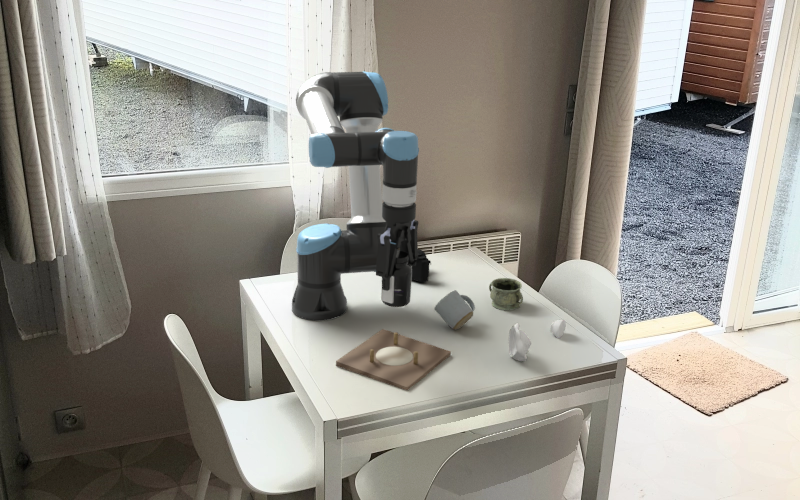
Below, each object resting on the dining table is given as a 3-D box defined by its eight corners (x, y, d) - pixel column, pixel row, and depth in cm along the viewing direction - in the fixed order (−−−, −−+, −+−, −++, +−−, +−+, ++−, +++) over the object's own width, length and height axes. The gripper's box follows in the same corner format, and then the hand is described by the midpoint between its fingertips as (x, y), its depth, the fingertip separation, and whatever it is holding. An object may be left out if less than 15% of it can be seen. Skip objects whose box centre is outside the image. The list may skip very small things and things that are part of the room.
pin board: (336, 366, 185) (336, 349, 183) (382, 334, 201) (383, 318, 199) (407, 393, 175) (407, 375, 174) (450, 356, 191) (451, 340, 189)
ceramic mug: (452, 335, 204) (458, 324, 198) (431, 313, 207) (436, 300, 200) (480, 313, 209) (487, 300, 202) (459, 291, 211) (465, 278, 204)
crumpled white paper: (533, 371, 186) (537, 335, 182) (515, 371, 185) (519, 335, 182) (524, 350, 195) (527, 315, 191) (506, 350, 195) (510, 315, 191)
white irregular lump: (558, 341, 200) (560, 324, 198) (547, 338, 201) (549, 321, 199) (565, 334, 204) (567, 317, 202) (554, 331, 205) (556, 314, 203)
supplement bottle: (389, 310, 178) (390, 261, 173) (376, 298, 183) (377, 251, 179) (415, 304, 181) (417, 257, 176) (402, 293, 186) (403, 246, 182)
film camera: (441, 274, 238) (442, 246, 234) (423, 284, 230) (424, 256, 227) (400, 261, 246) (401, 235, 242) (382, 271, 239) (383, 244, 235)
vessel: (531, 307, 218) (533, 286, 216) (511, 316, 213) (513, 295, 210) (498, 293, 226) (499, 273, 224) (478, 301, 221) (479, 281, 218)
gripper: (388, 217, 163) (386, 315, 172) (436, 194, 179) (431, 285, 187) (359, 210, 167) (358, 306, 175) (408, 188, 182) (405, 278, 191)
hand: (396, 295), depth 181 cm, fingers closed on supplement bottle, 7 cm apart
